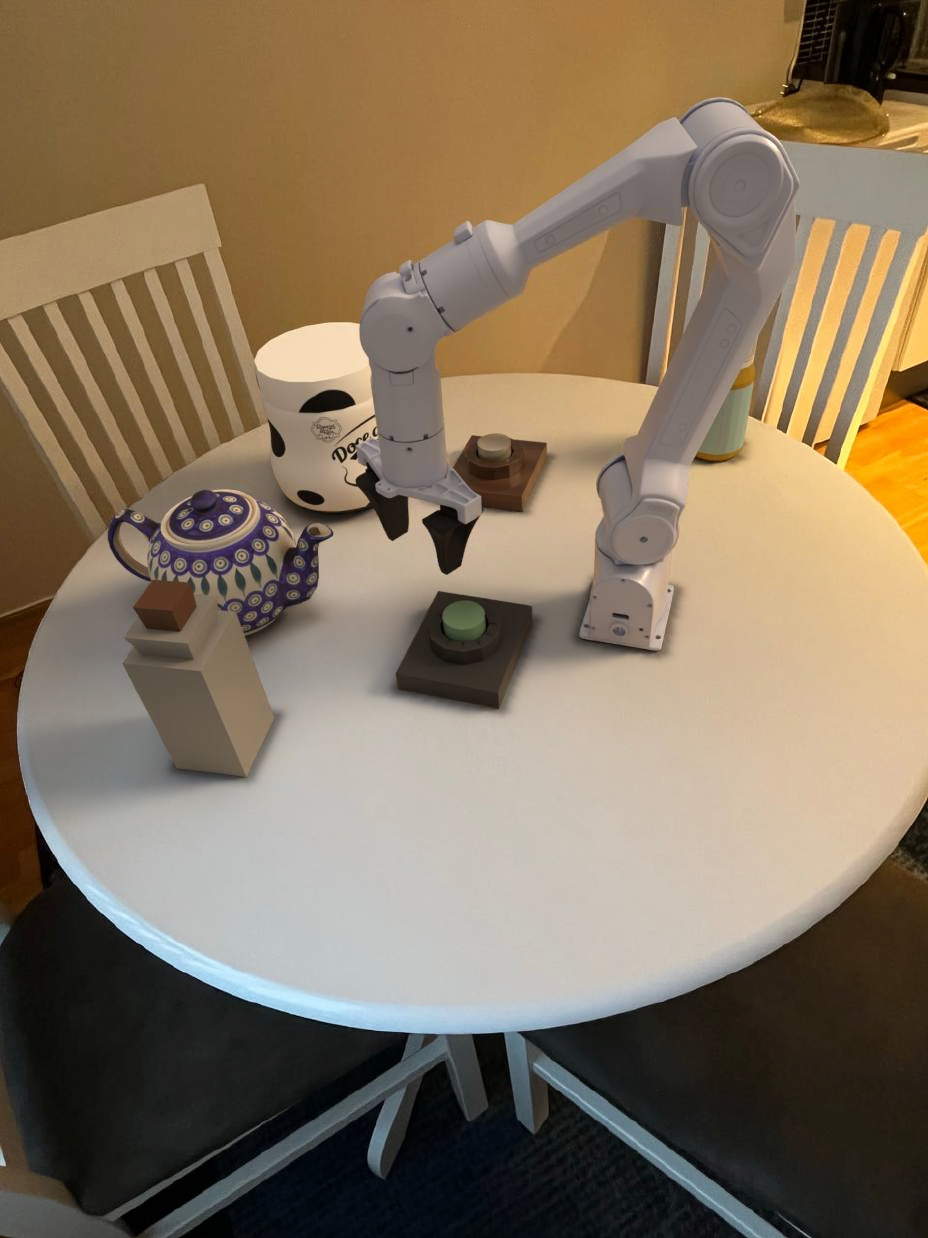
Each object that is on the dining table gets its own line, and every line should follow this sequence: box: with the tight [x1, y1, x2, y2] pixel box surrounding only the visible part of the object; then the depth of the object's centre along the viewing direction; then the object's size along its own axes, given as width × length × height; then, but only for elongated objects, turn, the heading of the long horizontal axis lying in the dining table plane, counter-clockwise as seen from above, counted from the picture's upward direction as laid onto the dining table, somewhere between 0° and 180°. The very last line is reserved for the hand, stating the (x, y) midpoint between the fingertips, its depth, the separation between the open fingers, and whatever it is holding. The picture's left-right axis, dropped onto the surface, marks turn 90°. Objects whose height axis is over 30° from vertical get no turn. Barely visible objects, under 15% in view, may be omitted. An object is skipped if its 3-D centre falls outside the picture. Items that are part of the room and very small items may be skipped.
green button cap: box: [442, 601, 486, 642], centre depth 79 cm, size 4×4×2 cm
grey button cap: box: [478, 432, 511, 462], centre depth 101 cm, size 4×4×2 cm
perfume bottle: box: [121, 580, 275, 778], centre depth 70 cm, size 7×7×18 cm
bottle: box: [695, 336, 759, 462], centre depth 100 cm, size 7×7×15 cm
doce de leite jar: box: [253, 321, 379, 514], centre depth 99 cm, size 17×17×18 cm
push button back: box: [452, 435, 548, 512], centre depth 102 cm, size 12×10×4 cm
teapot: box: [107, 488, 334, 637], centre depth 85 cm, size 25×15×15 cm, turn 76°
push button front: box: [395, 590, 534, 709], centre depth 80 cm, size 12×10×4 cm
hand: (424, 551), depth 80 cm, fingers open, 7 cm apart
